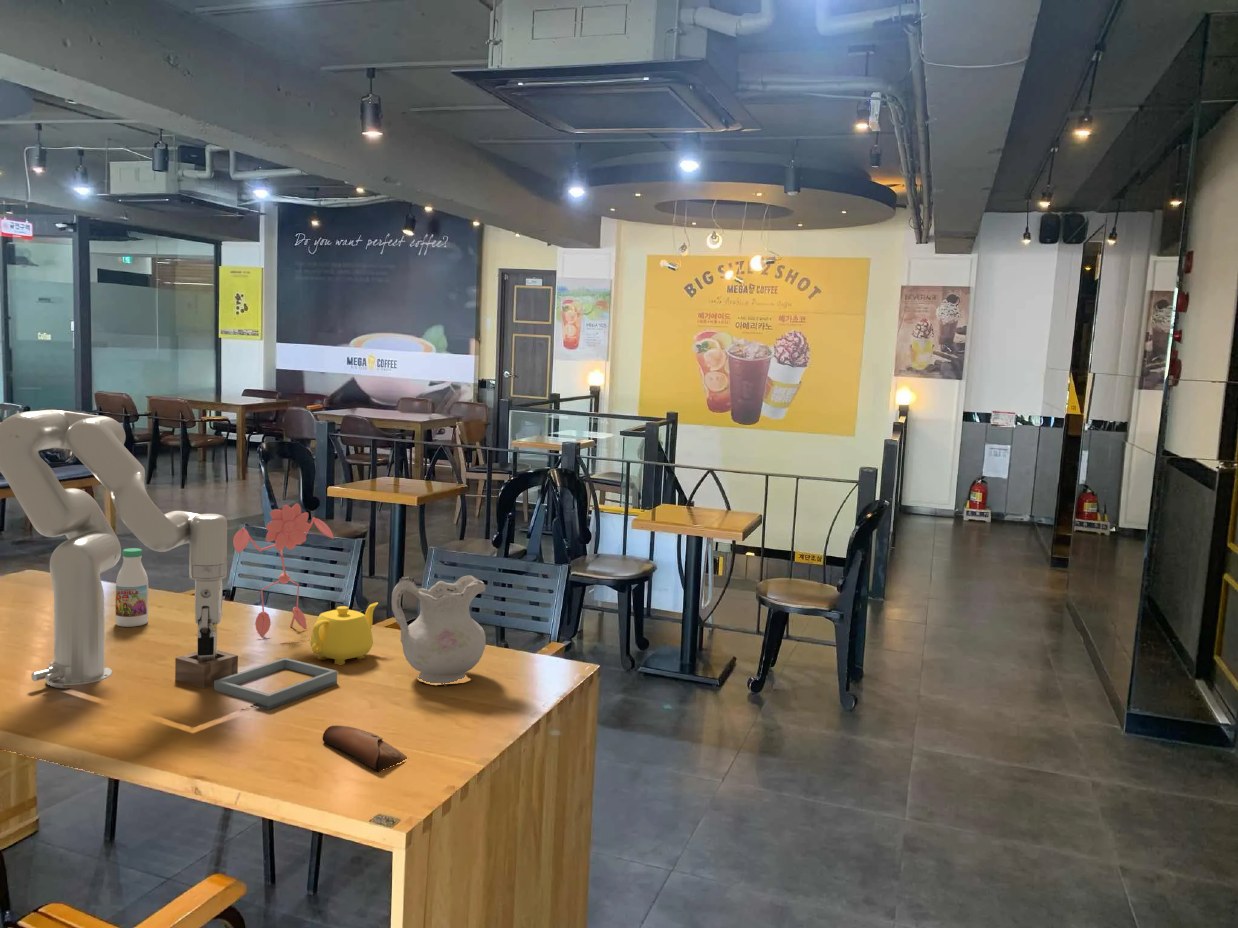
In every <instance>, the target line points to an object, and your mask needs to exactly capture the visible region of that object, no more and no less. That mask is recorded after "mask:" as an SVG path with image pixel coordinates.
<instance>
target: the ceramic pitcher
mask: <svg viewBox="0 0 1238 928" xmlns="http://www.w3.org/2000/svg"><path fill="white" fill-rule="evenodd" d="M415 579H416V577H415V576H413V575H410V576H401V578H399V580H398V582H397V583H396V585H395V586H394V587H393V590H392V592H391V610H392V612H393V615H394V619H395V621H396V623H397V624H398V626H399V627H400V642H401V645H402V651H403V655H404V657H405V660H406V662H407V663H408V664H409V665H410V667H412V668H413V669H415V670H416V671H418V672H420V673H419V674H418V675H419V677H418V678H419V679H422V680H423V681H426V682H430V683H441V684H443V683H444V684H445V683H450V682H454V681H457V680H458V679H462V678H464V677H465V675H467V674H466V672H468V671H472V669H474V667H476V665H477V664H478V663H479V662H480V660H481V659H482V657H483V654H484V652H485V650H486V646H487V645H486V644H487V643H486V636H487V635H486V632H485V630H484V628H483V627H482V625H480V624H479V623H478V622H477V621H476V620H474V619H473V618H472V616H471V613H470V605H471V603H472V601H473V600H474V599H475V597H477V595H478V594H481V593H483V592H485V591H486V584H485V582H483V580H480V579H479V578H477V577H474V576H473V575H464V576H461V577H460V578H458V579H457V580H456V581H455V582H453V583H451V582H445V581H444V580H439V581H437V582H436V583H435V584H434V585H432V586H431V587H430V588H428V589H426V588H423V587H421V588H418V587H417V585H416V583H415ZM405 592H408V593H409V592H410V593H411V594H413V595H414V597H416V598H417V599H418V601H419V604H420V605H419V606H420V607H419V608H420V611H419V615H418V616H417V617H416V619H415V620H414V621H412V622H411V623H410V624H408V623H407V620H406V616H405V614H404V613H405V612H404V610H403V608H402V606H401V603H402V596H403V594H404V593H405Z"/></svg>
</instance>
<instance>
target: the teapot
mask: <svg viewBox="0 0 1238 928" xmlns="http://www.w3.org/2000/svg"><path fill="white" fill-rule="evenodd" d="M378 604H379V602H377V601H376V602H373V603H371V604H369V605H368V607H367V608H366V611H365V614H364V613H363V612H360V611H357V610H352V609H349V606H345V605H342V606H341V605H340V606H337V607H336V609H332V610H328V611H324V612H321V613H320V614H319V616H318V617H317V619H316V621H315V623H314V625H313V627H312V632H311V635H310V636H311V637H310V639H311V640H310V642H309V643H310V647H311V651H312V652H313V653H314V654H317V655H318V656H317V658H318V660H327V659H333V660H334V665H335V664H343V665H345V664H346V660H348V659H355V658H357V659H356V660H363V659H362V658H364V659H365V658H366V656H365V655H366V654H368V653H370V650H371V649H372V647H373V645H374V641H373V640H374V639H373V631H372V629H373V620H374V619H373V618H374V617H373V616H374V610H375V608H376V607H377V605H378Z"/></svg>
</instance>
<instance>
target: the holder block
mask: <svg viewBox="0 0 1238 928" xmlns="http://www.w3.org/2000/svg"><path fill="white" fill-rule="evenodd" d="M238 660H239V655H238V654H235V653H230V652H226V651H223V650H218V649H217V659H214V660H211V661H208V662H203V661H199V660H197V651H195V652H191V653H188V654H185V655H181V656H178V657H175V667H174V669H175V670H174V671H175V673H174V674H175V676H174V679H175V681H176V682H180V683H183V684H186V685H190V686H195V687H197V688H201V689H207V688H209V687H212V686H213V687H214V681H215V680H218V679H222V678H225V677H228V676H231V675H234V674H237V673H239V672H238V671H239V670H238V667H239V661H238Z"/></svg>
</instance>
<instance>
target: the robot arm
mask: <svg viewBox="0 0 1238 928" xmlns="http://www.w3.org/2000/svg"><path fill="white" fill-rule="evenodd" d="M126 437H127V436H126V432H125V429H124V427H123V426H122V425H121V423H120V422H118V421H117V420H115V419H114V418H112V417H109V416H105V415H96V414H89V413H88V414H87V413H80V412H76V411H75V412H73V411H67V410H59V409H58V410H57V409H43V410H29V411H22V412H18V413H15V414H12V415H10V416H8V417H7V418H5V419H3V421H1V422H0V473H1V475H2V476H3V478H4V479H5V481H6V483H7V484H8V485H9V487H10V489H11V491H12V493H13V494H14V496H15V498H16V500H17V501H18V503H19V504H20V507H21V508H22V510H23V511H24V513H25V515H26V517H27V518H28V520H29V522H30V523H31V525H32V527H33V528H34V529H35V531H36V532H37V533H38V534H40V535H41V536H43V537H46V538H56V537H62V536H64V535H65V537H66V538H67V540H65V541H63V542H62V543H60V544H59V545H58V546H57V547H56V548H55V549H54V550H53V552H52V553H51V555H50V559H49V572H50V573H49V574H50V577H51V582H52V583H51V584H52V587H53V588H52V589H53V612H54V616H53V617H54V621H53V623H54V626H53V627H54V633H53V634H54V643H53V644H54V655H53V656H54V661H51V662H49V666H48V667H46V668H45V669H43V670H38V671H34V672H32V673H31V675H30V677H31V680H32V681H33V682H38V681H41V680H44V679H45V682H46V683H45V684H47V685H48V686H49V685H50V687H53V688H55V689H68V687H66V686H78V685H79V686H80V685H87V684H91V683H97V682H100V681H103V680H106V679H108V678H110V677H111V675H112V674H113V670H112V669H111V668H110V667H106V666H105V611H106V610H105V609H106V608H105V593H104V588H103V587H104V586H103V584H102V581H101V574H103V573H105V572H107V571H109V570H110V569H113V568H114V567H115V566H116V565H117V564H118V562H119V561H120V559H121V556H122V546H121V543H120V540H119V538H118V536H117V535H116V533H115V531H114V529H113V528H112V525H111V524H110V522H109V521H108V518H107V517H106V516H105V514H104V512H103V511H102V508H101V507H100V505H99V503H98V502H97V501H96V500H95V499H94V497H92V496H91V494H89V493H88V492H87V491H84V490H82V489H80V488H72V487H70V488H64V487H63V485H62V483H60V481H59V479H58V477H57V475H56V473H55V471H54V470H53V469H52V467H51V466H50V465H49V464H48V463H47V462H46V461H45V460H44V459H43V458H42V457H41V456H40V454H39V452H40V451H43V450H50V449H62V450H63V449H64V450H70V451H71V453H72V454H73V455H74V456H75V457H76V458H77V459H78V460H79V461H80V462H81V464H83V466H85V468H86V469H87V470H89V472H90V473H91V474H92V475H93V476H94V477H95V478H96V480H98V481H99V483H101V484H102V486H103V487H104V488H105V489H106V491H108V493H109V494H110V497H111V501H112V503H113V505H114V508H115V509H116V512H117V514H118V517H119V518H120V519H121V521H122V522H123V524H124V525H125V526H126V528H128V530H129V531H130V532H131V533H132V534H133V535H134V536H135V537H136V538H137V539H138V540H139V541H140V542H141V543H142V544H143V545H144V546H145V547H147V549H150V550H152V551H154V552H160V553H161V552H162V553H164V552H165V553H166V552H168V551H171V550H173V549H175V548H177V547H179V546H182V545H186V544H189V561H188V562H189V570H188V572H189V573H188V574H189V575H188V576H189V577H188V578H189V579H190V580H192V581H194V617H195V618H194V619H195V624H196V625H197V626H198V625H199V637H198V656H205V655H213V654H214V637H213V623H216V624H217V625H219V624H220V623H221V621H222V617H223V579H225V578H227V570H228V568H227V567H228V566H227V565H228V560H227V559H228V557H227V556H228V520H227V518H226V516H224V515H222V514H218V513H202V514H201V513H195V512H189V511H184V510H172V511H169V512H167V513H164V512H162V511H161V510H160V508H159V507H157V505H156V504H155V503H154V502H153V500H152V499H151V497H150V496H149V494H148V493H147V489H146V485H145V478H146V477H145V476H146V470H145V467H144V466H143V465H142V464H141V462H140V461H139V460H138V459H137V458H136V457H135V456H134V454H132V453H131V452H130V451H129V449H128V448H126V446H125V445H124V444H125V442H126ZM208 621H211V623H208ZM208 626H210V628H208Z"/></svg>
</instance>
